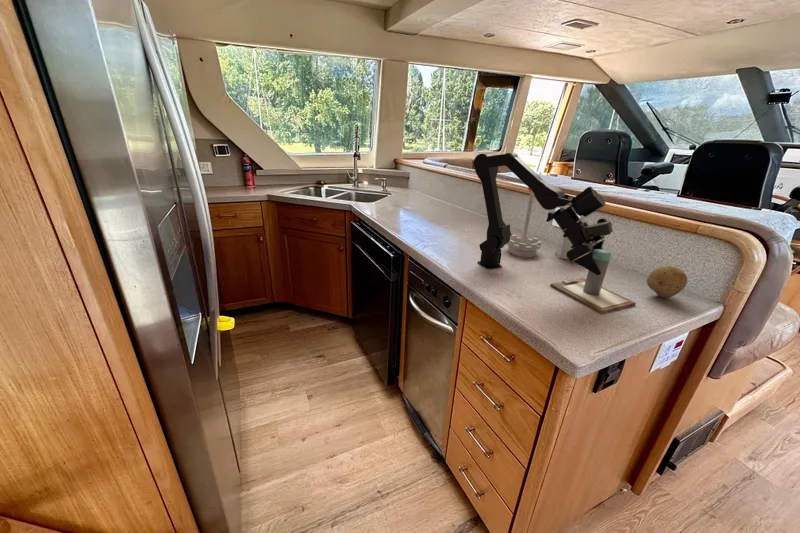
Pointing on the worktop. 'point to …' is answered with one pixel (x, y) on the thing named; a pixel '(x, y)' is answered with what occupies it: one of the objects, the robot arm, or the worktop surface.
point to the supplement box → (563, 246)
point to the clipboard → (592, 296)
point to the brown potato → (667, 281)
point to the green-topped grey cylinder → (593, 280)
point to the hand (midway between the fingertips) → (603, 269)
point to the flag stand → (524, 237)
